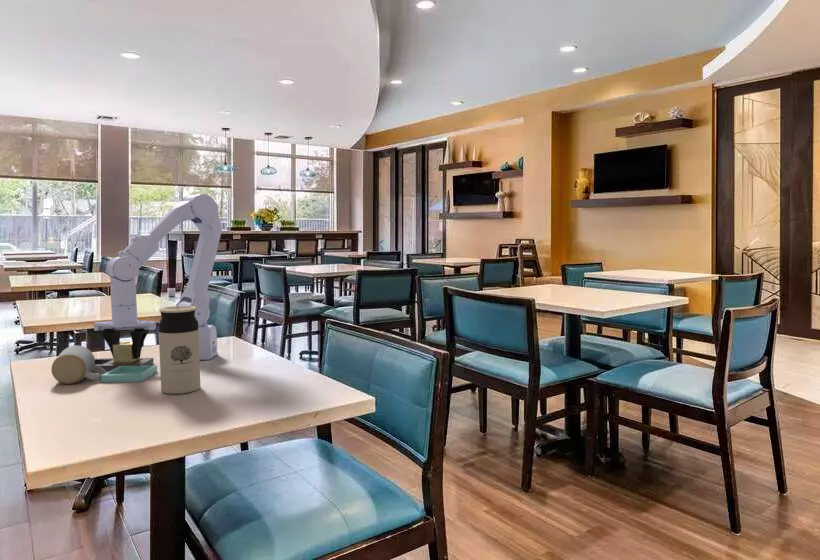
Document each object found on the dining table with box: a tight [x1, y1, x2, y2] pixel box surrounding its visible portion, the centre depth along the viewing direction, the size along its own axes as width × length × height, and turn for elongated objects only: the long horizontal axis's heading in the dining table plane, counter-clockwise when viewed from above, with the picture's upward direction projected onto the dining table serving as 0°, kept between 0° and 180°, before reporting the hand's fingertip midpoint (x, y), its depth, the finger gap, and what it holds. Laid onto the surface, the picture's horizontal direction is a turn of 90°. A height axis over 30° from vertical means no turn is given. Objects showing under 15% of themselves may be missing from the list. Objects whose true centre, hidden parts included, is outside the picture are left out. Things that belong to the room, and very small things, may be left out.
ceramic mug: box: [50, 345, 107, 385], centre depth 134 cm, size 11×8×8 cm
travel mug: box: [158, 305, 201, 395], centre depth 125 cm, size 8×8×18 cm
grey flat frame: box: [91, 357, 154, 373], centre depth 146 cm, size 18×8×2 cm, turn 92°
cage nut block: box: [112, 340, 141, 364], centre depth 146 cm, size 4×4×6 cm
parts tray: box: [100, 365, 158, 383], centre depth 137 cm, size 9×9×2 cm
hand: (126, 358), depth 146 cm, fingers closed on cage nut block, 4 cm apart
